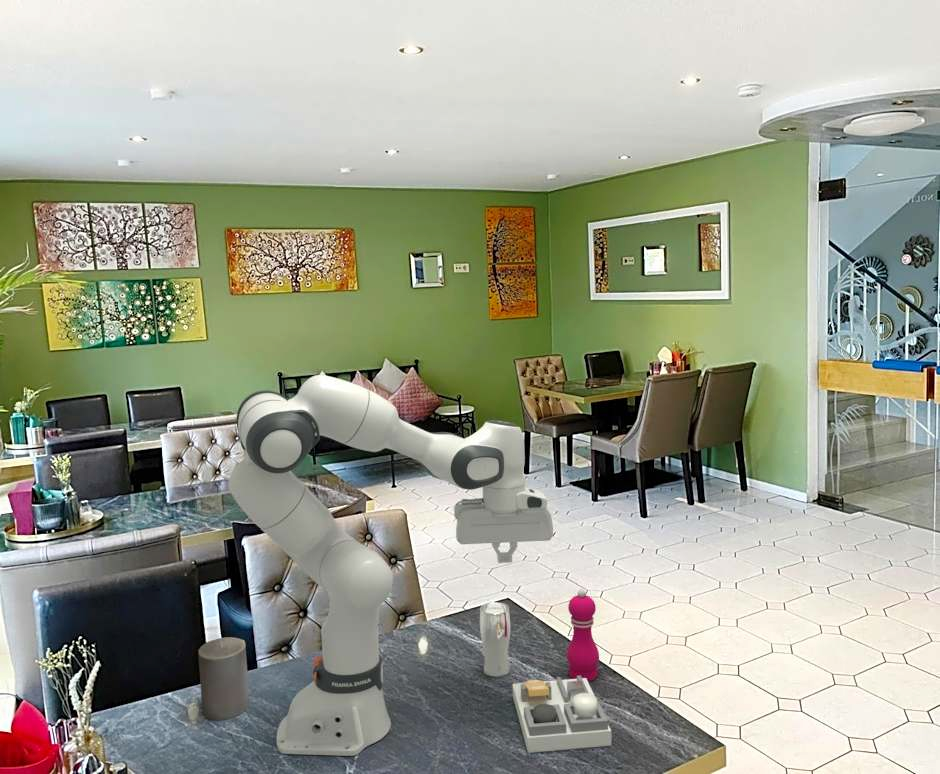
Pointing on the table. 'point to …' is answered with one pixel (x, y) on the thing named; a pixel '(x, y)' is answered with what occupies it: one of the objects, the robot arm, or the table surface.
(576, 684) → the metal slider knob
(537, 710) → the black button
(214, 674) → the pillar candle
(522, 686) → the console
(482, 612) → the beer glass
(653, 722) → the table surface
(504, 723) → the table surface
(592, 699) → the white button
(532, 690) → the amber rocker
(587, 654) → the pepper mill
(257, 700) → the table surface
